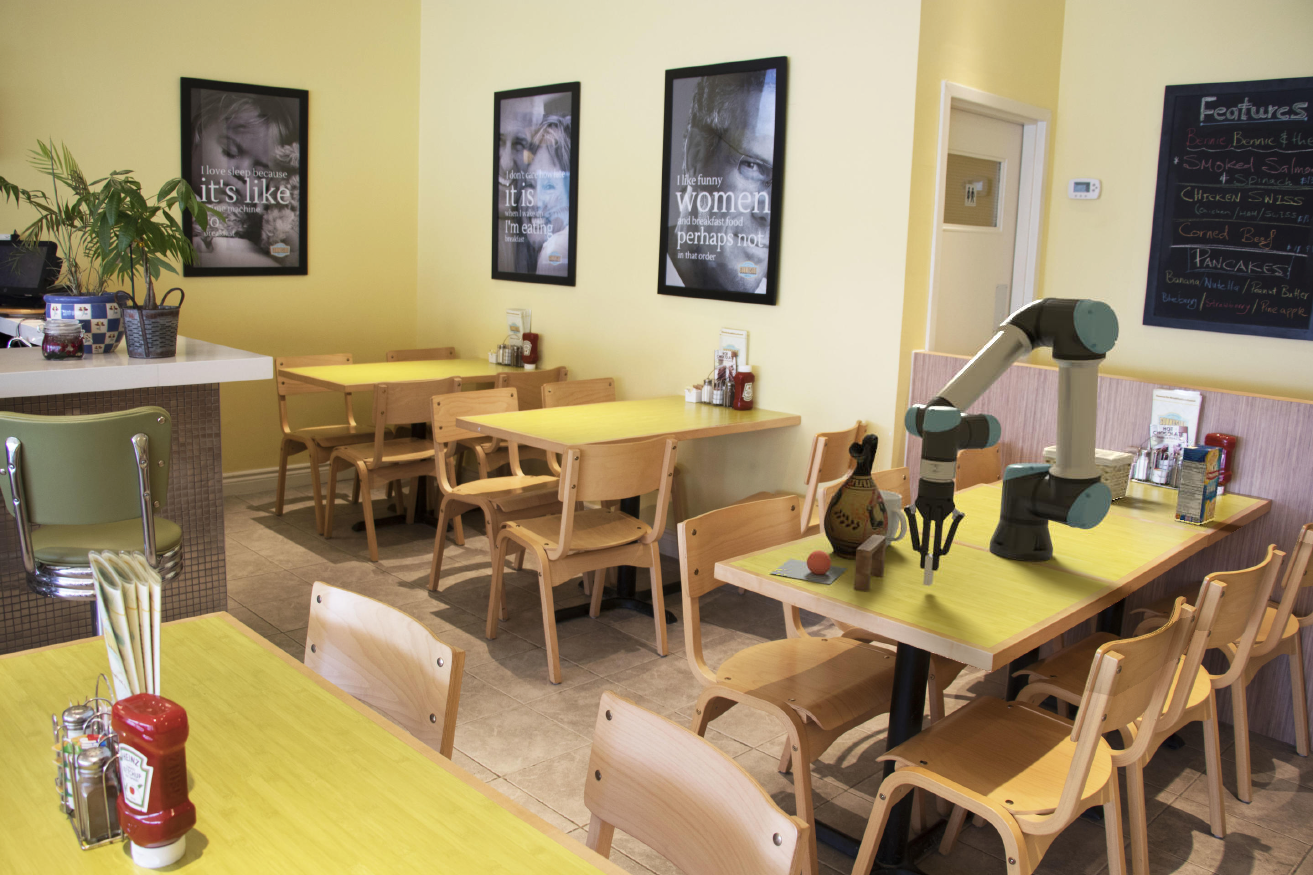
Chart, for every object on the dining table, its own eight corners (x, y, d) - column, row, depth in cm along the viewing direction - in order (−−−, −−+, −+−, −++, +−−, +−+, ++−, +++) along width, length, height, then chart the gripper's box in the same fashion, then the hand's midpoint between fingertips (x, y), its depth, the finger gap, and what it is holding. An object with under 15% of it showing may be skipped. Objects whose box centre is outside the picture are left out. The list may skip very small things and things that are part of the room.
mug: (918, 550, 260) (922, 499, 257) (887, 555, 254) (891, 504, 251) (875, 536, 272) (879, 487, 270) (845, 540, 266) (848, 491, 264)
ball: (808, 548, 239) (811, 571, 239) (803, 553, 234) (805, 577, 234) (832, 547, 237) (834, 571, 237) (826, 553, 231) (829, 577, 232)
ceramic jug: (872, 567, 243) (882, 442, 238) (812, 555, 251) (820, 434, 246) (896, 552, 257) (906, 434, 252) (838, 541, 265) (846, 426, 260)
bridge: (883, 574, 237) (886, 536, 236) (867, 591, 224) (870, 550, 223) (870, 572, 239) (873, 534, 237) (853, 589, 226) (856, 548, 224)
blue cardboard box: (1174, 520, 303) (1183, 447, 299) (1189, 515, 310) (1198, 444, 306) (1198, 525, 298) (1208, 451, 294) (1213, 520, 305) (1223, 447, 301)
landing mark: (847, 569, 241) (847, 568, 241) (829, 584, 228) (829, 583, 228) (790, 559, 247) (790, 558, 247) (770, 574, 234) (770, 573, 234)
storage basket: (1037, 490, 339) (1041, 446, 336) (1060, 484, 350) (1064, 442, 347) (1109, 504, 322) (1114, 458, 319) (1131, 498, 333) (1136, 453, 330)
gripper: (902, 477, 221) (894, 583, 225) (964, 485, 215) (955, 593, 219) (910, 471, 228) (902, 574, 232) (971, 479, 222) (961, 584, 226)
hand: (927, 583), depth 226 cm, fingers closed
